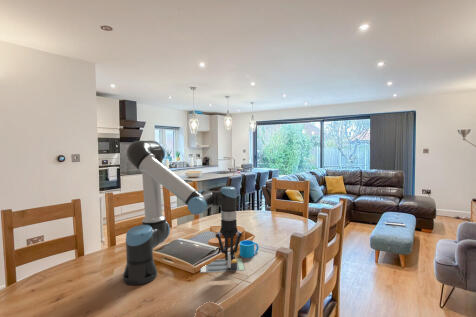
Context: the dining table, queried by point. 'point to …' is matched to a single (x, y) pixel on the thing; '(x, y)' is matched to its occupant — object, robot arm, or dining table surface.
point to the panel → (222, 266)
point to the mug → (247, 248)
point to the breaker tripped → (233, 264)
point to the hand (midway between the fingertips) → (229, 266)
